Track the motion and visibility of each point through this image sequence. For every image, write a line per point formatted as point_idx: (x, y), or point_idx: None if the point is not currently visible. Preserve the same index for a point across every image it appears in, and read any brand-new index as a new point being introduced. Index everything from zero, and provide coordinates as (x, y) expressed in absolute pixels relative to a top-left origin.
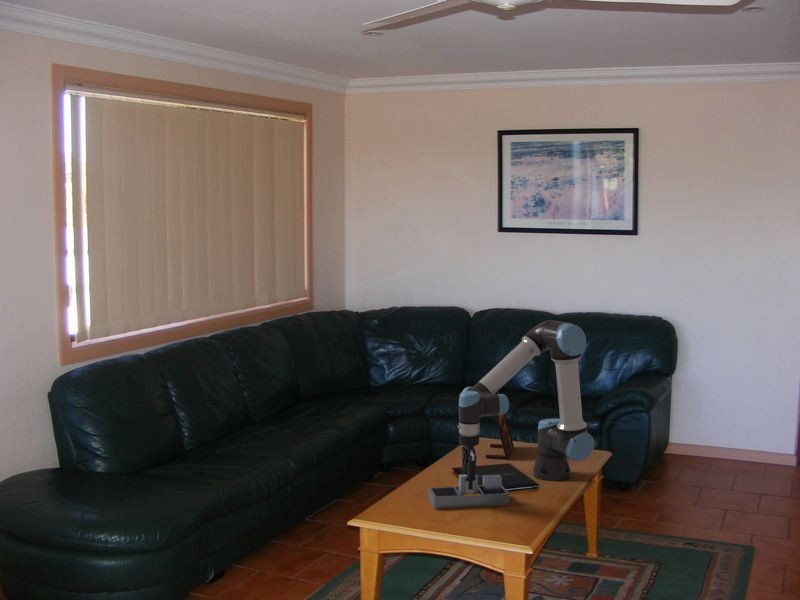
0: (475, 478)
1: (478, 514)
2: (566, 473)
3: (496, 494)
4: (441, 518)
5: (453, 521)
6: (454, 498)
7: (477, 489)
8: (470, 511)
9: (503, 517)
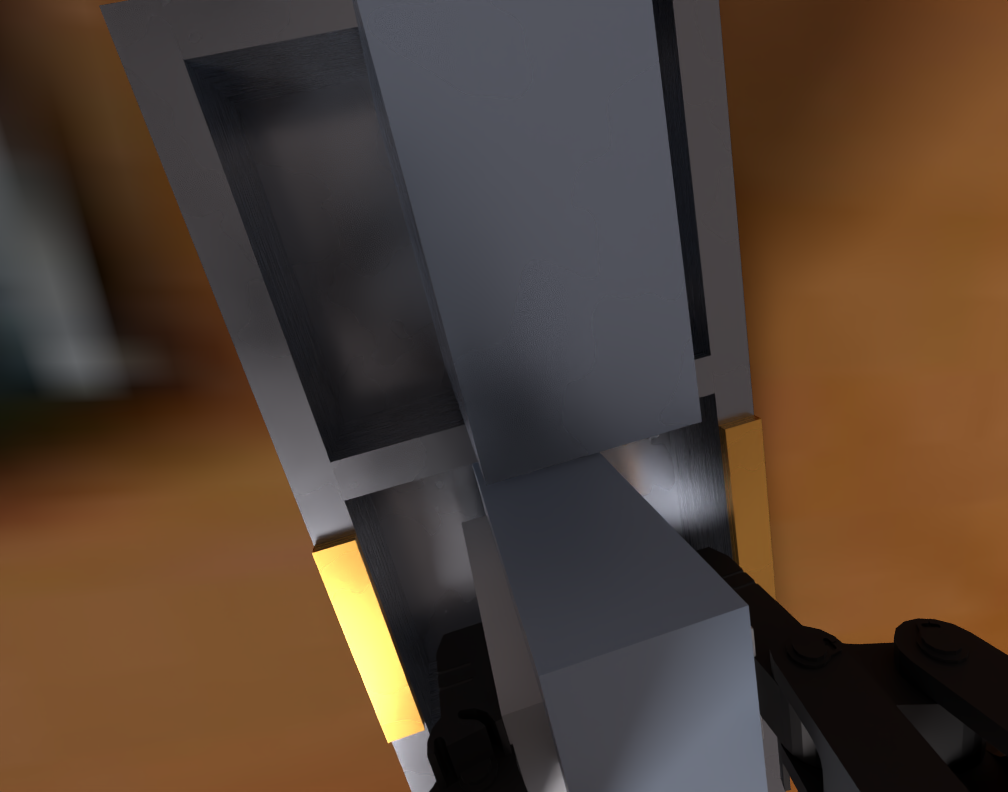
0: (960, 643)
1: (886, 387)
2: None
3: (729, 165)
4: None
5: (995, 572)
6: None
7: (618, 473)
8: (804, 463)
9: (1003, 129)
